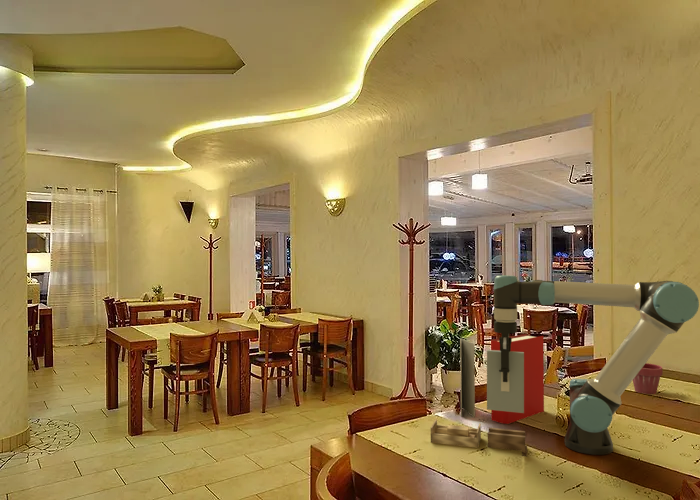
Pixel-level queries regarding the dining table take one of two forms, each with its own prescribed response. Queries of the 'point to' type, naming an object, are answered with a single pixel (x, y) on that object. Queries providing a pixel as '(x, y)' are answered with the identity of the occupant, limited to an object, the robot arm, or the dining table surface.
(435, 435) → the tray
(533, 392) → the book
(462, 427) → the offcut
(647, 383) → the plant pot
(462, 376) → the tall grey block
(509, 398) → the grey panel
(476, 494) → the dining table surface
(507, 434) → the stand
